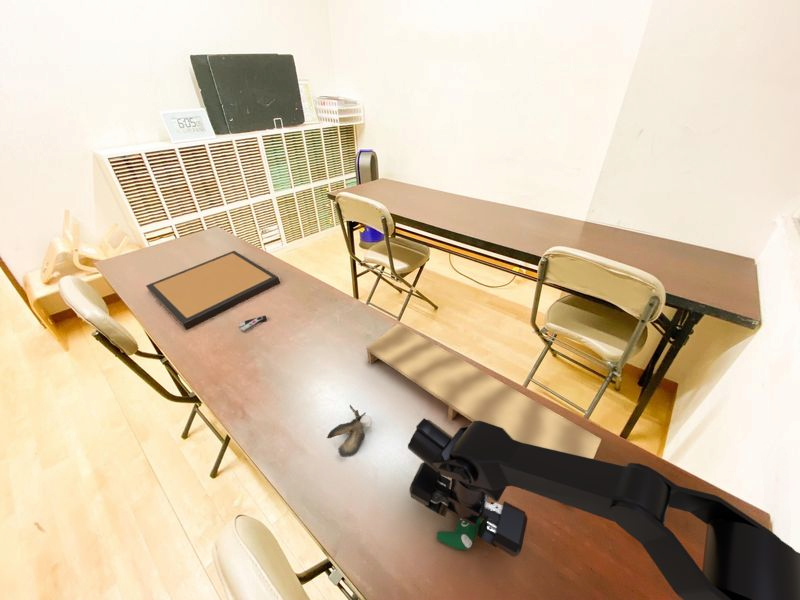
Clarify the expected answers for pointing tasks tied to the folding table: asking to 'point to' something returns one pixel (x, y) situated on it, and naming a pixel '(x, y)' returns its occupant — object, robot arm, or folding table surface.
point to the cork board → (211, 288)
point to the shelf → (479, 394)
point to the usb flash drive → (251, 323)
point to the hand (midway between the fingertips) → (461, 523)
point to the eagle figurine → (352, 433)
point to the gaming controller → (460, 535)
